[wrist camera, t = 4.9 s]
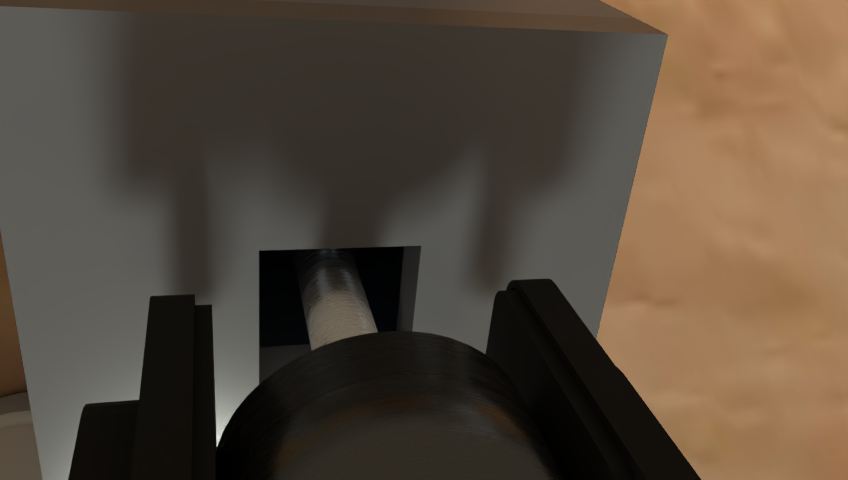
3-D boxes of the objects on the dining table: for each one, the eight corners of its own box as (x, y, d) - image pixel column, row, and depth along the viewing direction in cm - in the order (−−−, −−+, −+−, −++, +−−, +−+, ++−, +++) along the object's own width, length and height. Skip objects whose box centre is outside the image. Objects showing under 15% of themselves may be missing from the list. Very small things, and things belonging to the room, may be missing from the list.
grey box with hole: (438, -81, 22) (667, 34, 11) (410, 207, 26) (558, 498, 15) (95, -107, 20) (-39, 4, 9) (123, 212, 24) (55, 557, 13)
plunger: (401, 5, 20) (766, 382, 7) (384, 209, 22) (628, 758, 9) (164, -6, 18) (68, 443, 5) (175, 213, 21) (131, 865, 8)
